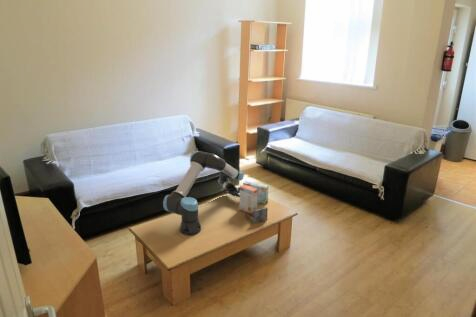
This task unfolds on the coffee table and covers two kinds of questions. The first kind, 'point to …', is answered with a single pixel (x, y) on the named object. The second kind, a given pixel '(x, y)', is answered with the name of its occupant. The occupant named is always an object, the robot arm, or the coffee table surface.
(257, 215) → the bookend slot
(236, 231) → the coffee table surface
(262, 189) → the snack box
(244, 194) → the cracker box
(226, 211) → the coffee table surface
